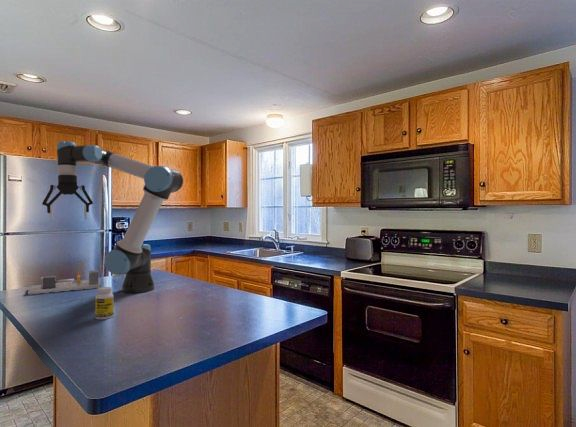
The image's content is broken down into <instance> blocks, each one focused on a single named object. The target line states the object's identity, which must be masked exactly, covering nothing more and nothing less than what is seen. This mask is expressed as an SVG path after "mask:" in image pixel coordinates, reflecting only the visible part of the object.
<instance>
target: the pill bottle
mask: <svg viewBox="0 0 576 427" xmlns="http://www.w3.org/2000/svg"><path fill="white" fill-rule="evenodd" d="M96 289H97V294H96V295H95V297H94V298H95V301H94V302H95V303H94V318H95V319H96V320H107V319H112V318H113V316H114V315H115V314H114V309H115V306H114V301H115V300H114V299H115V298H114V293H112V291H113V290H112V287H111V286H103V287H102V286H101V288H96Z"/></svg>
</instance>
